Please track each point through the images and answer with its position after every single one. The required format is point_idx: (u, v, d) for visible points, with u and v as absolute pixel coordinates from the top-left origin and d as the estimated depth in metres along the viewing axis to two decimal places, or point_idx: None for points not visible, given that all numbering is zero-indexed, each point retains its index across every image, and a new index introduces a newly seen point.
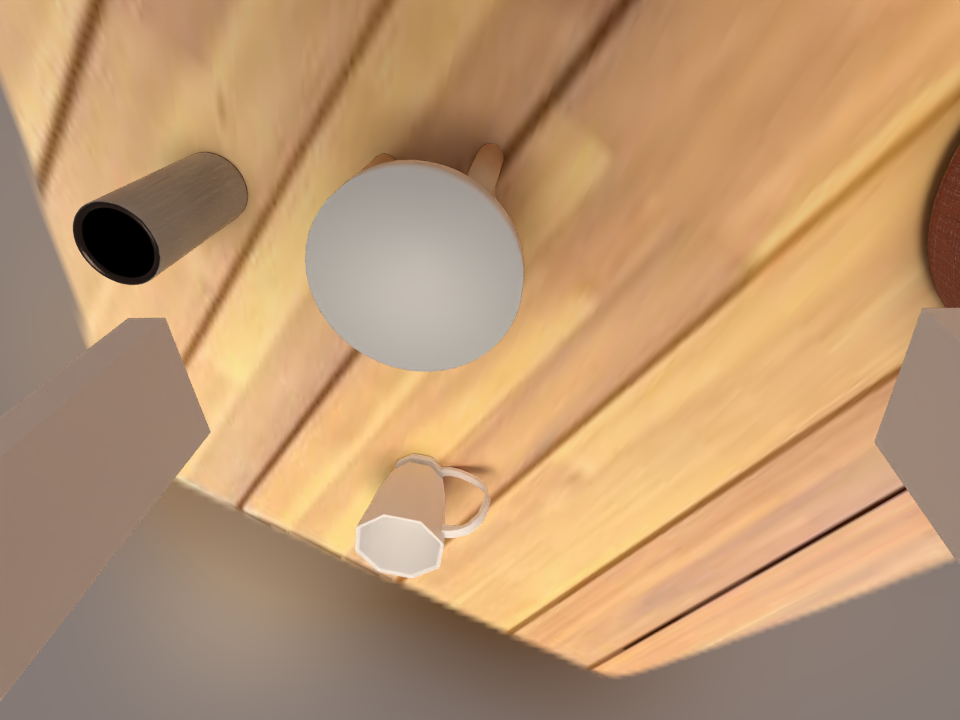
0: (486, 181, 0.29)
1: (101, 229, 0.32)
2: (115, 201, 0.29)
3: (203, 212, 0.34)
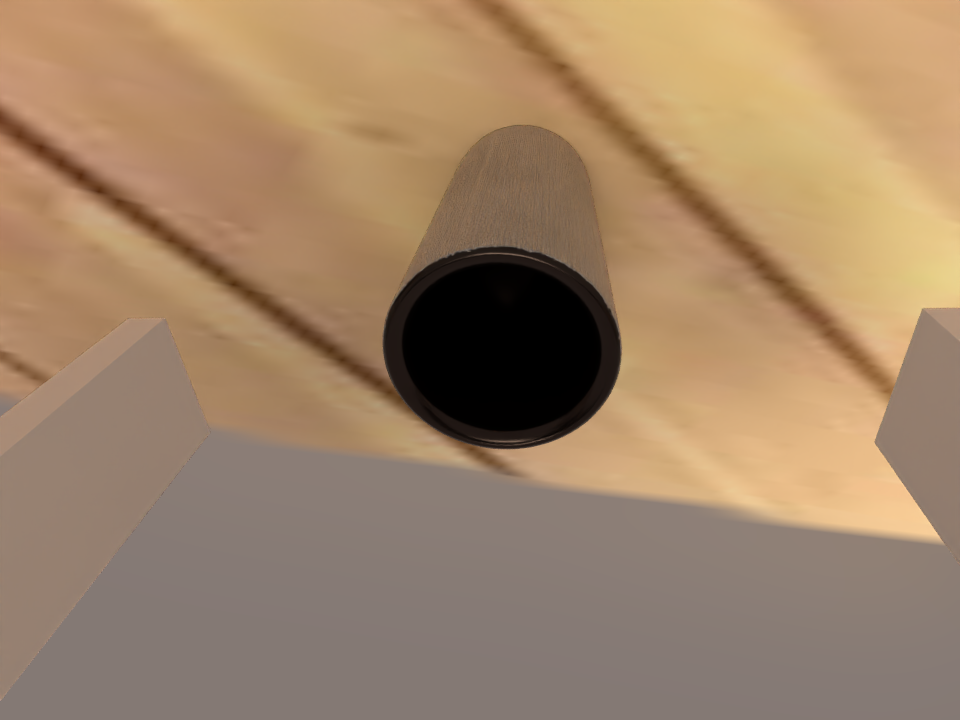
0: None
1: (490, 389, 0.13)
2: (386, 317, 0.11)
3: (510, 170, 0.14)
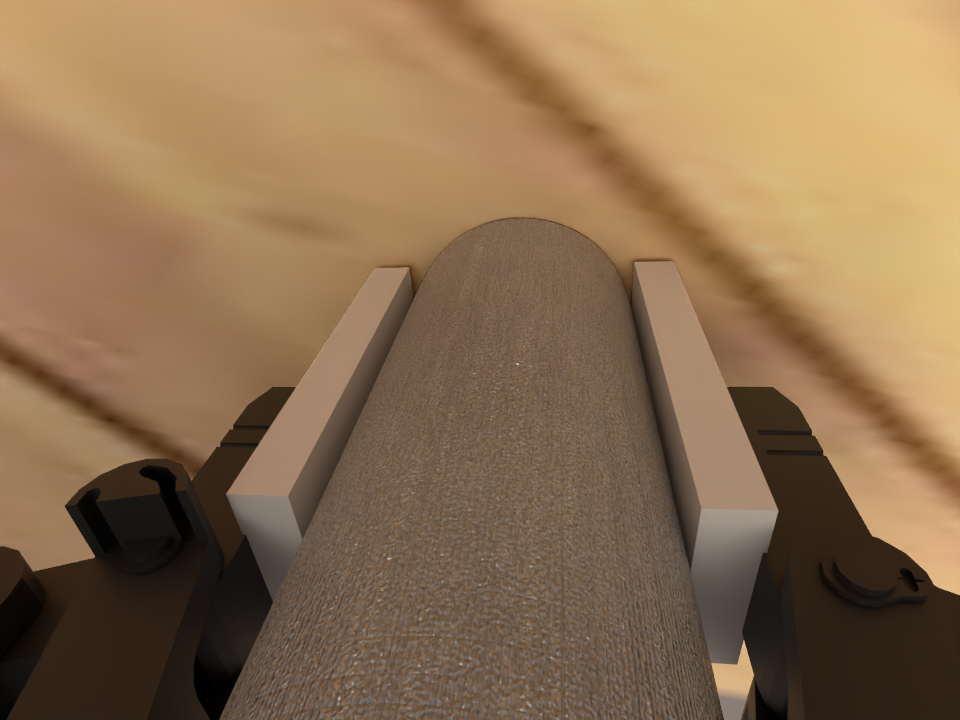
0: None
1: None
2: None
3: (495, 366, 0.07)
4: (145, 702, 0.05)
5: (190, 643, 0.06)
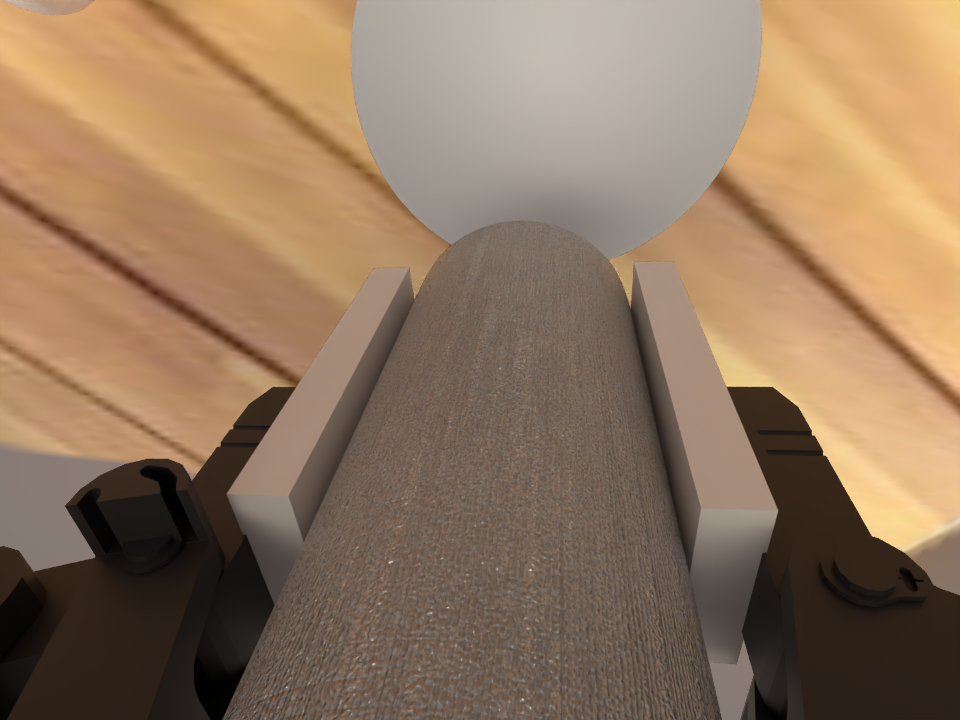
0: None
1: None
2: None
3: (495, 370, 0.07)
4: (146, 702, 0.05)
5: (191, 643, 0.06)
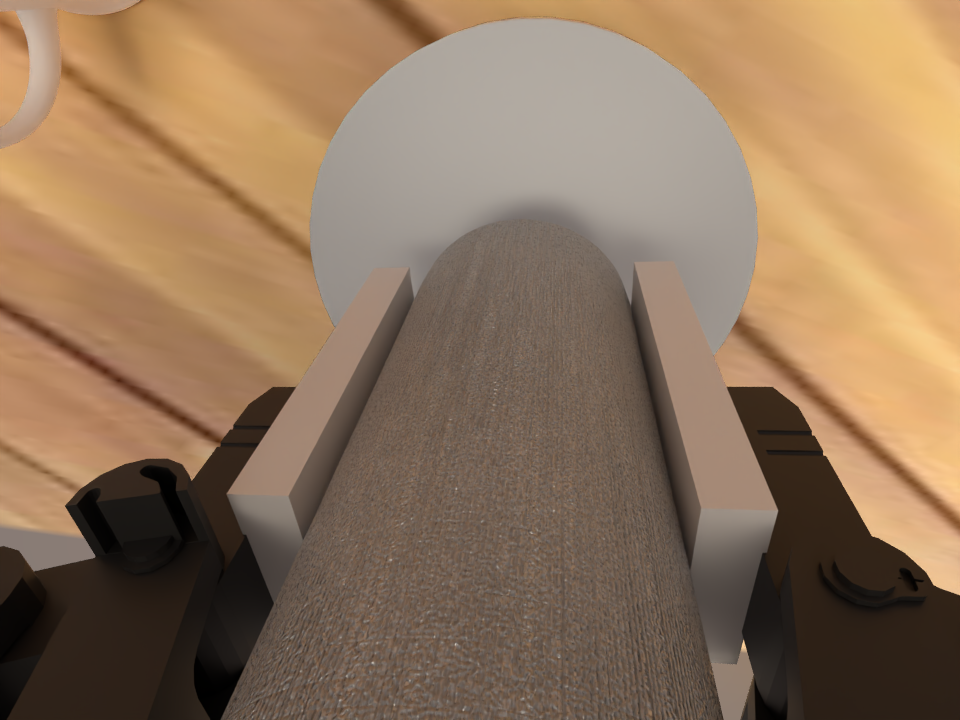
0: None
1: None
2: None
3: (495, 368, 0.07)
4: (145, 702, 0.05)
5: (190, 643, 0.06)
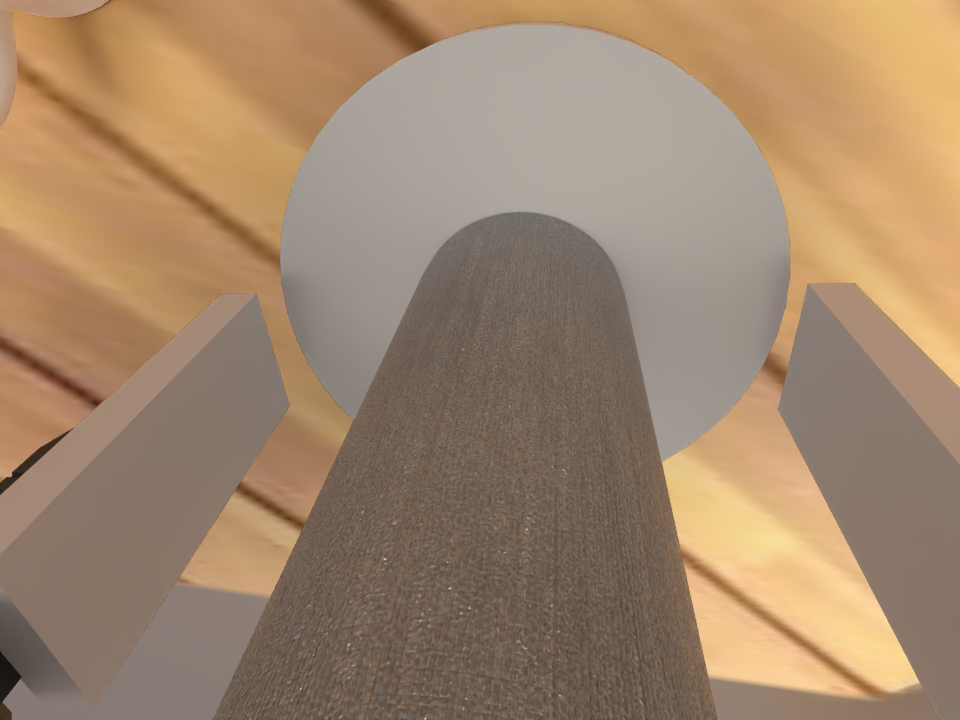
0: None
1: None
2: None
3: (493, 351, 0.07)
4: None
5: None
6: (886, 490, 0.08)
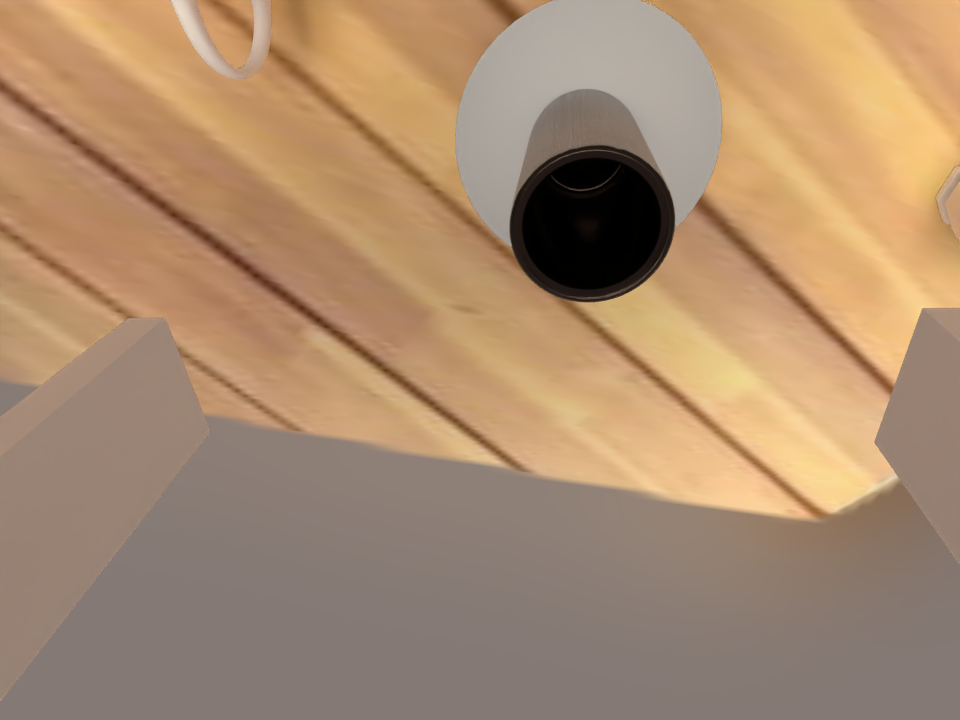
0: None
1: (574, 267, 0.19)
2: (513, 200, 0.16)
3: (589, 112, 0.19)
4: None
5: None
6: None
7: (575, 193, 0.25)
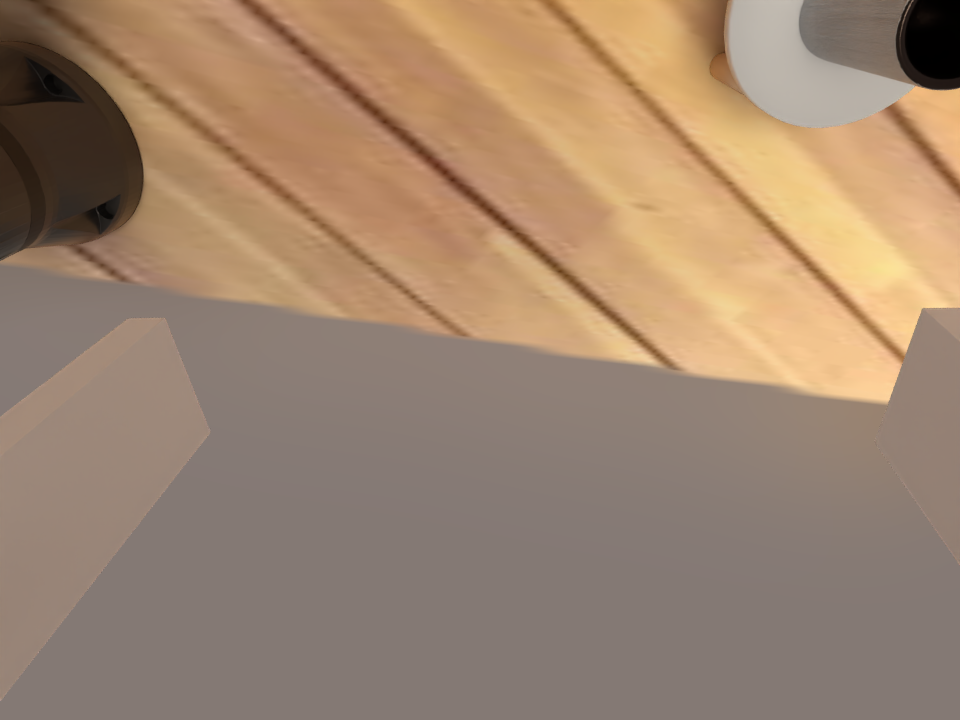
0: None
1: None
2: None
3: None
4: None
5: None
6: None
7: None
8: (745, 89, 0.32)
